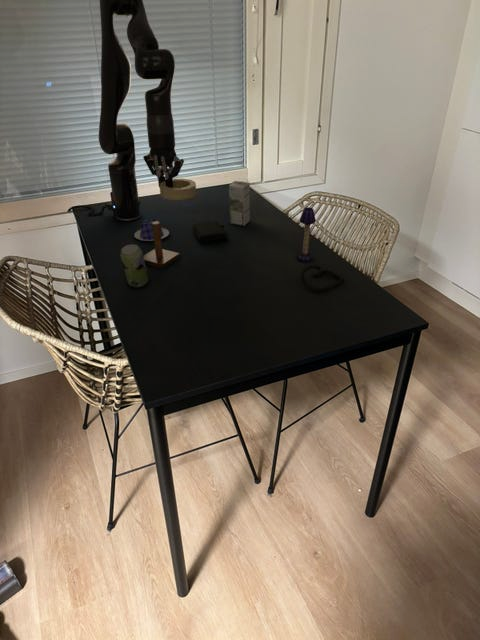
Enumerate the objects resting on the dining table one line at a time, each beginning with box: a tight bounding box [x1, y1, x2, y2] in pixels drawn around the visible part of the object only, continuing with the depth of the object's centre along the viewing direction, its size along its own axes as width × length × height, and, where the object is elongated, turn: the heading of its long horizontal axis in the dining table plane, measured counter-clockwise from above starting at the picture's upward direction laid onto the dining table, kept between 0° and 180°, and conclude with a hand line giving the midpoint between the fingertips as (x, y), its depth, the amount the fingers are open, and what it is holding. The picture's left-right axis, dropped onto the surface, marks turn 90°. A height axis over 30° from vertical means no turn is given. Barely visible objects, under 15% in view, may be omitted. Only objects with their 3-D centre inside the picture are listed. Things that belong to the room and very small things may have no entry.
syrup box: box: [228, 180, 251, 227], centre depth 178 cm, size 6×6×14 cm
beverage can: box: [119, 243, 150, 288], centre depth 140 cm, size 6×7×12 cm
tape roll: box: [159, 178, 197, 201], centre depth 147 cm, size 10×10×3 cm
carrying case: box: [192, 219, 228, 244], centre depth 171 cm, size 11×3×15 cm
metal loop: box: [299, 264, 344, 293], centre depth 141 cm, size 13×5×10 cm
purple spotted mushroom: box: [297, 206, 316, 263], centre depth 151 cm, size 5×5×17 cm
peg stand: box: [143, 220, 181, 270], centre depth 153 cm, size 9×9×12 cm
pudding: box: [133, 218, 170, 242], centre depth 171 cm, size 12×12×5 cm
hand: (166, 189), depth 149 cm, fingers closed on tape roll
